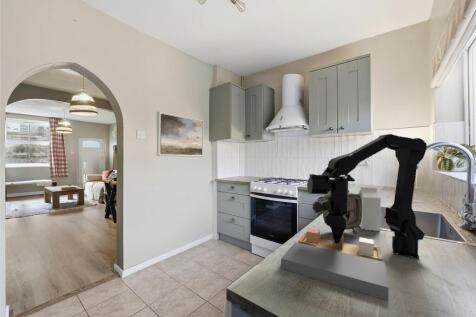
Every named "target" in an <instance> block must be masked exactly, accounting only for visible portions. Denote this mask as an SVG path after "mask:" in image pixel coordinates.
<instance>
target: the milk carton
mask: <svg viewBox="0 0 476 317" xmlns="http://www.w3.org/2000/svg"><path fill="white" fill-rule="evenodd" d="M357 194H358V195H360V196H361V199H362V219H361V224H360V225H361V226H360V227H361V228H360V227H359V228H360V229H361V230H363V229H365V230H364V231H372V230H373V232H374V231H375V232H380V231H381V214H382V213H381V212H382V211H381V210H382V208H381V205H382V204H381V202H382V201H381V200H382V199H381V195H380V193H379V190H378V187H363V186H361V187H360V190H359V192H358V193H357Z"/></svg>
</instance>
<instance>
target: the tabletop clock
mask: <svg viewBox="0 0 476 317" xmlns="http://www.w3.org/2000/svg"><path fill="white" fill-rule="evenodd" d="M349 190H350V189H348V197H349V200H348V207H349V208H350V217H349V219H348V221H347V226H346V229H345V231H348V230H352V233H353V234H355V235H356V234H358V231H357V230H356V228H358V227H359V225H360V224H361V219H362V199H361V196H360V195H358V193H352V192H350V191H349ZM329 197H330V192H328V193H327V194H324V196H323V200H322V201H324V200H328V198H329ZM328 213H330V212H328V210H326V211H322V218H323V221H324V222H325V216H326V215H327V214H328ZM331 213H332V212H331ZM347 215H348V214H347Z"/></svg>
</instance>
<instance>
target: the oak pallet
mask: <svg viewBox="0 0 476 317" xmlns="http://www.w3.org/2000/svg"><path fill="white" fill-rule="evenodd" d="M344 233H345V232H344ZM344 233H343V235H342V237H341V239H340V241H339V244H336V243H335V242H334V238H333V236H332V238H331V239H326V238H322V235H320V241H319V243H318V245H317V244H314V243H309V242H306V232H304V233H303V235H302V236H301V237H299V239H298V240H297V241H298V242H297V243H301V244H305V245H310V246H314V247H319V248H324V249H328V250H333V251H337V252H342V253H346V254H351V255H355V256H360V257H364V258H369V259H373V260H378V261H382V262H383V255H382V249H381V246H377V245H374V256H370V255H365V254H360V253H359V244H358V245H357V244H352V243H346V242H344V239H345V238H344V237H345V236H344Z"/></svg>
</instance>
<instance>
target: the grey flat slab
mask: <svg viewBox="0 0 476 317" xmlns="http://www.w3.org/2000/svg"><path fill="white" fill-rule="evenodd" d="M280 269H282V270H285V271H289V272H292V273H296V274H297V275H298V274H299V275H301V276H305V277H308V278H312V279H315V280H319V281H322V282H324V283H325V282H326V283H328V284H332V285H336V286H339V287H342V288H345V289H349V290H352V291H355V292H359V293H362V294H366V295H369V296H372V297H376V298H379V299H383V300H386V301H389V282H388V275H387V268H386V262H385V261H383V260H382V261H378V260H373V259H369V258H364V257H360V256H355V255H351V254H346V253H342V252H337V251H333V250H328V249H324V248H319V247H314V246H310V245H305V244H301V243H298V242H296V241H294V242H293V244H291V246H290V247H289V248H288V249H287V251H286V252H285V253H284V254H283V255H282V256H281V258H280Z"/></svg>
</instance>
